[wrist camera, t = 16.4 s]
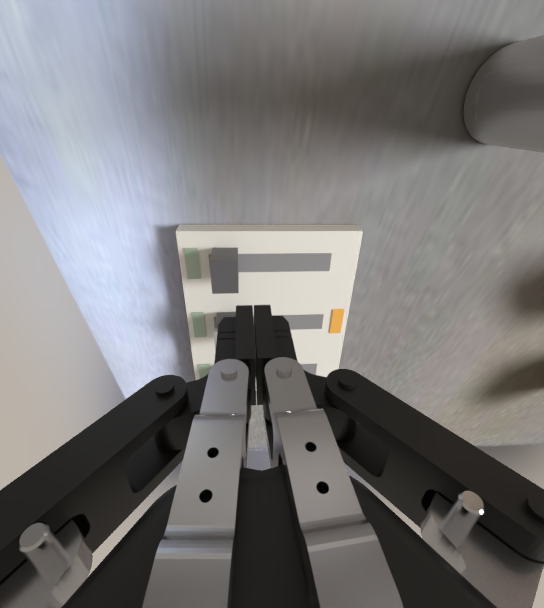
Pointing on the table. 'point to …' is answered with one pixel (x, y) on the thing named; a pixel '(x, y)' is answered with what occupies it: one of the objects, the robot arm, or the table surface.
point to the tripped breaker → (218, 319)
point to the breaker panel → (271, 284)
